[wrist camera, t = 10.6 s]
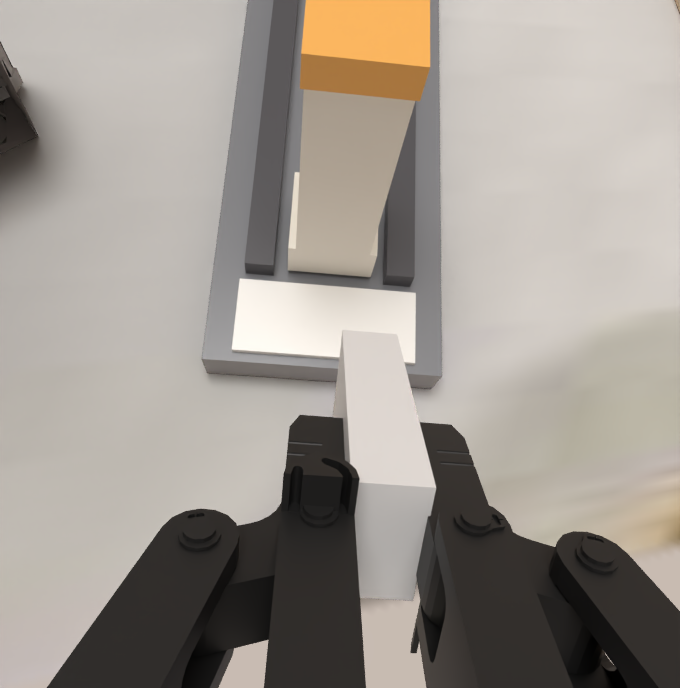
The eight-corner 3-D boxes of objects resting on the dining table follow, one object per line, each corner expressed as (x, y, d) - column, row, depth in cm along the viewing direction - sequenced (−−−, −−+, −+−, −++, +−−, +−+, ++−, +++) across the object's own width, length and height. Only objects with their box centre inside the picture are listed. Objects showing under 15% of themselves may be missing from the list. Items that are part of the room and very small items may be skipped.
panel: (207, 372, 27) (198, 350, 24) (263, -80, 36) (262, -133, 34) (430, 388, 28) (447, 369, 25) (429, -59, 37) (441, -110, 34)
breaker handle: (287, 272, 26) (293, 52, 15) (294, 196, 28) (303, -60, 16) (370, 279, 27) (438, 68, 15) (372, 203, 28) (437, -44, 17)
